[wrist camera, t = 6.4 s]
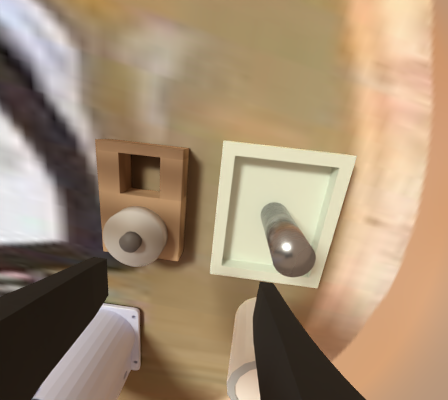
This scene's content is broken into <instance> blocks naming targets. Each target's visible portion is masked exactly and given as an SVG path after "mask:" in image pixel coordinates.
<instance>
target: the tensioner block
mask: <svg viewBox="0 0 448 400" xmlns="http://www.w3.org/2000/svg"><path fill="white" fill-rule="evenodd" d="M95 144H96V157H97V170H98V184H99V197H100V210H101V224H102V237H103V250H104V251H106V252H109V253H110V254H111V255H112V256H113V257H114V258H115V259H117V260H118V261H120V262H122V263H124V264H126V265H129V266H136V267H138V266H145V265H148V264H150V263H152V262H154V261H155V260H156V259H165V260H172V261H178V260H179V258H180V256H181V254H182V252H183V250H184V233H185V216H186V198H187V181H188V163H189V148H183V147H174V146H166V145H157V144H148V143H140V142H131V141H123V140H114V139H95ZM131 154H136V155H144V156H152V157H160V191H152V190H144V189H136V188H132V181H131Z"/></svg>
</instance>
